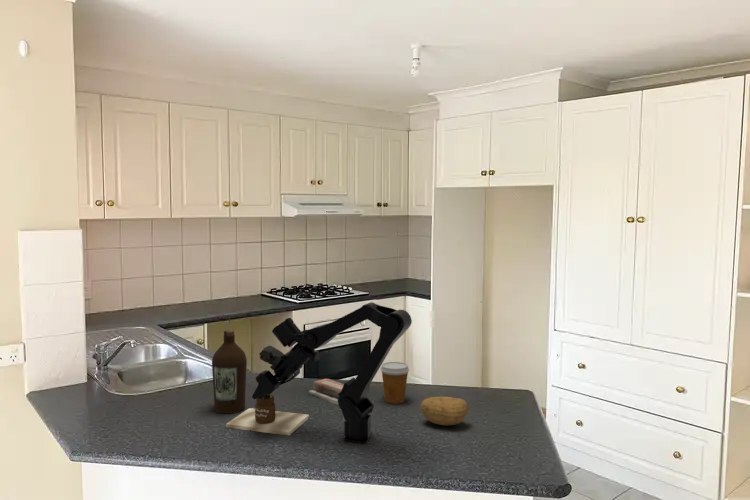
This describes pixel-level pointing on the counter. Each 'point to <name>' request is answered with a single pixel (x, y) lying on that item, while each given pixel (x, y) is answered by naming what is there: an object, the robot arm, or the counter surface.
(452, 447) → the counter surface
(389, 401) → the disposable coffee cup
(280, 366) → the robot arm
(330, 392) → the packaged product
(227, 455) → the counter surface
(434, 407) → the potato
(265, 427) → the birch board
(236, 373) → the olive oil
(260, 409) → the utensil holder
